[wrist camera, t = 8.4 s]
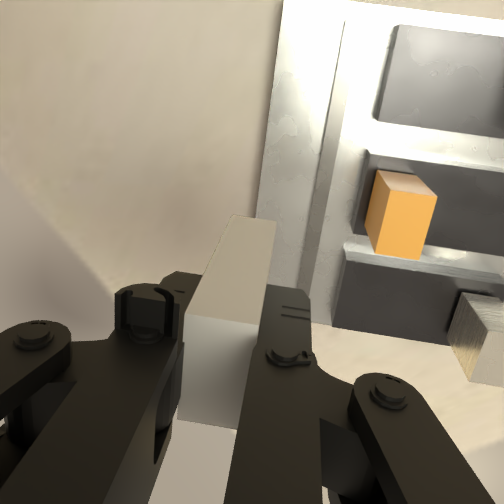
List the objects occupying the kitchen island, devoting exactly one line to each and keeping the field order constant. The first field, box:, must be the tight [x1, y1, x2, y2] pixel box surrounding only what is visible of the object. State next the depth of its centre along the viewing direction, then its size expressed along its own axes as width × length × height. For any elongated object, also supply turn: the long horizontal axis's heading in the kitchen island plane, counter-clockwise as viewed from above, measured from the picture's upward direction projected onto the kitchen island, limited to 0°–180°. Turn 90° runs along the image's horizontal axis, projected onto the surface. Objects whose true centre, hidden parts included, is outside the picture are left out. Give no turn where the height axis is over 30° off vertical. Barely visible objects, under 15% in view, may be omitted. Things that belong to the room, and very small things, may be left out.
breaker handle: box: [364, 170, 437, 260], centre depth 22 cm, size 2×3×4 cm, turn 173°
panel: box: [255, 0, 504, 387], centre depth 24 cm, size 20×18×8 cm
